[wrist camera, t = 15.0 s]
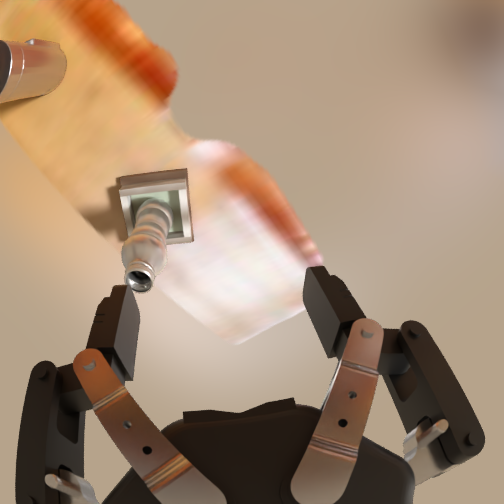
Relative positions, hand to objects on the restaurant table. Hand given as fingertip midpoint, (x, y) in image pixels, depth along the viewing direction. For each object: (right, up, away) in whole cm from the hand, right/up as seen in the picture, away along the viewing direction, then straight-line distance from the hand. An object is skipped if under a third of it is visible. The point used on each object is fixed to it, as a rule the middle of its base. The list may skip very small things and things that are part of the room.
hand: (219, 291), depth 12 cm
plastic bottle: (-16, +9, +36) cm, 40 cm away
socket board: (-16, +10, +37) cm, 41 cm away
